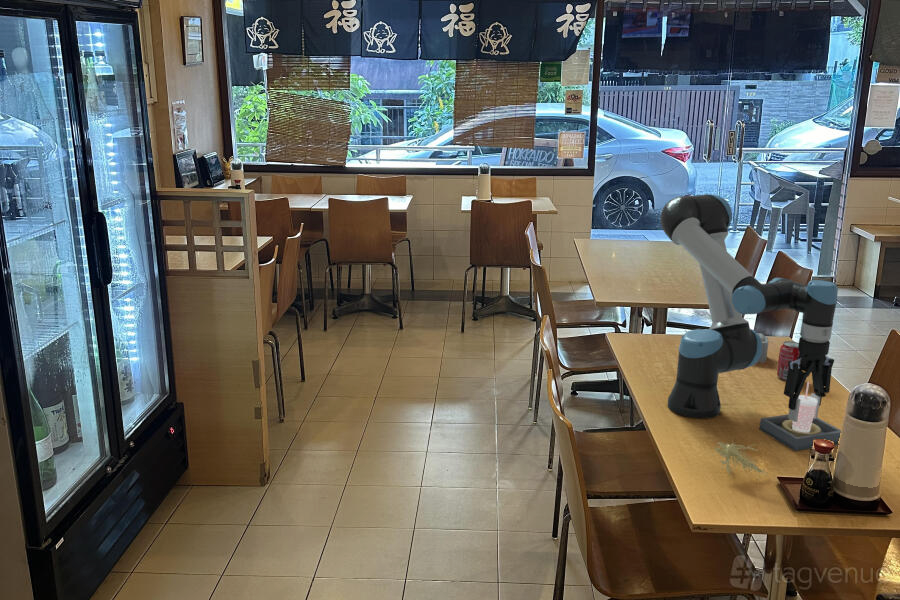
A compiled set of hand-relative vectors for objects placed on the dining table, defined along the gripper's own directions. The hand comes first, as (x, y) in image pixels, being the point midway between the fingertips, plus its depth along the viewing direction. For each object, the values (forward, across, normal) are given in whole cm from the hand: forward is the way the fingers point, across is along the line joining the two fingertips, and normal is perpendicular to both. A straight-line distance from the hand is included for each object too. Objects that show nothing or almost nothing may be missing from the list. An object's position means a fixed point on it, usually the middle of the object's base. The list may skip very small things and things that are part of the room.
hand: (802, 418), depth 223 cm
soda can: (+6, +29, +38) cm, 48 cm away
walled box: (+6, 0, 0) cm, 6 cm away
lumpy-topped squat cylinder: (+6, +30, +60) cm, 67 cm away
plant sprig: (+6, -31, -14) cm, 34 cm away
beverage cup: (+4, 0, 0) cm, 4 cm away
